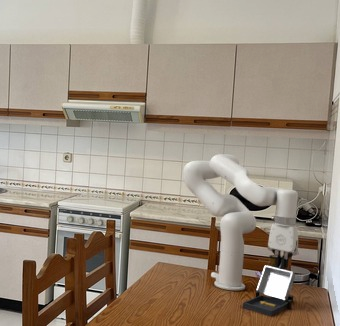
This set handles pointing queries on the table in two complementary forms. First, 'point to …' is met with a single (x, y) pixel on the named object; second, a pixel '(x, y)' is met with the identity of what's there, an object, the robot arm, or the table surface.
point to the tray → (265, 309)
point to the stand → (290, 300)
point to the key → (267, 303)
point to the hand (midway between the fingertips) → (281, 267)
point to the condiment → (272, 261)
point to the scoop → (276, 282)
